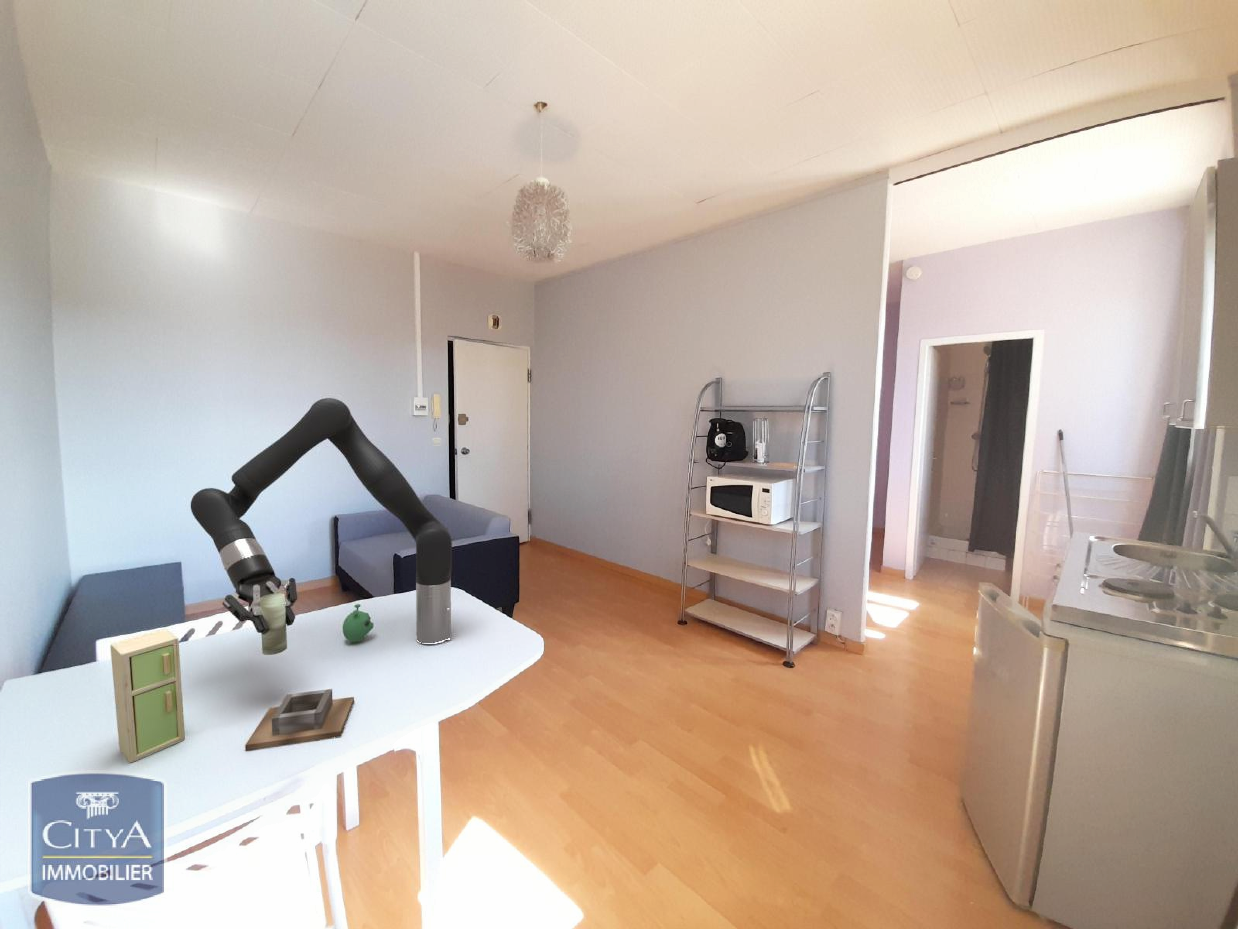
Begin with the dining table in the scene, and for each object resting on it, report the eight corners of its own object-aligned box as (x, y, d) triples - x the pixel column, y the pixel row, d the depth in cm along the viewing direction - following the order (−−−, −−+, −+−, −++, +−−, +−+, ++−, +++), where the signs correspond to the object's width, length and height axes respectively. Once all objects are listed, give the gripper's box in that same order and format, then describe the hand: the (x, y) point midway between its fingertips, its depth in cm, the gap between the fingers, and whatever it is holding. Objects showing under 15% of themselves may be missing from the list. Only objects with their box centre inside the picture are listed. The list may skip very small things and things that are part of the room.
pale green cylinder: (290, 644, 107) (287, 592, 106) (282, 653, 103) (280, 600, 101) (267, 646, 106) (264, 594, 104) (258, 656, 101) (255, 601, 100)
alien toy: (372, 644, 133) (372, 610, 132) (341, 648, 130) (340, 613, 129) (374, 633, 139) (374, 600, 138) (344, 637, 136) (344, 603, 135)
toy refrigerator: (129, 766, 86) (121, 655, 83) (117, 750, 89) (109, 643, 87) (187, 741, 92) (181, 638, 90) (173, 727, 96) (167, 627, 94)
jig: (354, 701, 107) (353, 682, 106) (340, 736, 95) (340, 714, 95) (269, 713, 102) (269, 692, 101) (245, 751, 90) (244, 727, 90)
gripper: (213, 562, 99) (246, 632, 95) (287, 546, 112) (319, 607, 107) (202, 582, 102) (234, 650, 98) (275, 564, 115) (306, 624, 110)
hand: (278, 627), depth 103 cm, fingers closed on pale green cylinder, 4 cm apart
